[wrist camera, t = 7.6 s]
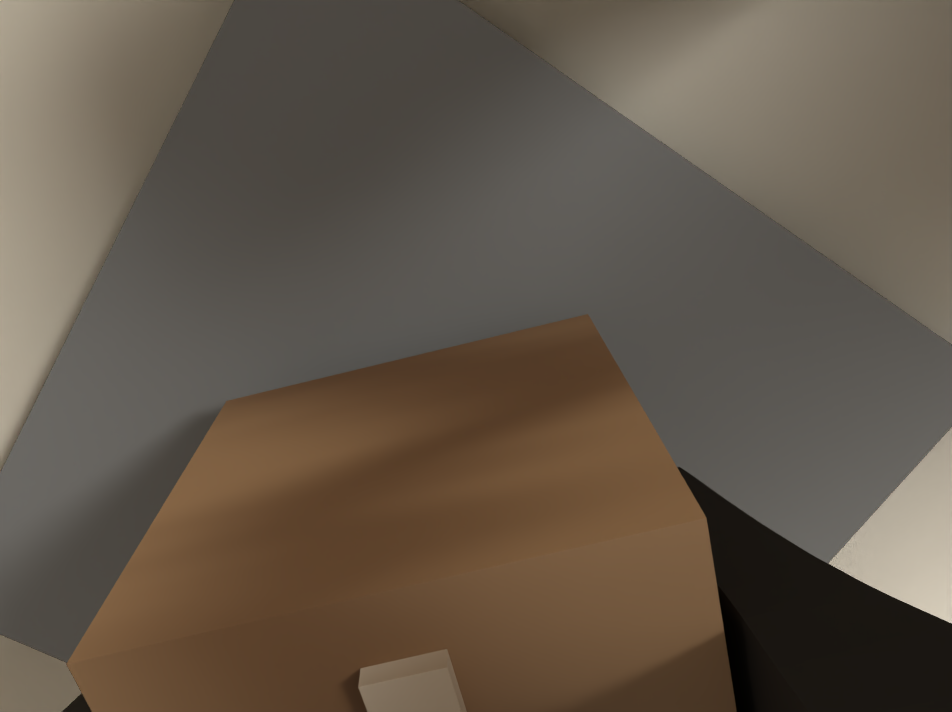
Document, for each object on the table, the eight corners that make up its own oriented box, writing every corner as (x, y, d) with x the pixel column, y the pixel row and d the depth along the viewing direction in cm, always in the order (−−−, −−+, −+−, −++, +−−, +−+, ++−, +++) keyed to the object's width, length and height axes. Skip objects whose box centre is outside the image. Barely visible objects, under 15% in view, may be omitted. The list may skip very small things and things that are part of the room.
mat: (972, 362, 13) (997, 376, 12) (547, 839, 16) (552, 867, 15) (300, -107, 10) (292, -116, 9) (-45, 583, 13) (-66, 606, 13)
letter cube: (588, 313, 11) (715, 532, 6) (646, 612, 12) (782, 974, 8) (226, 401, 11) (54, 682, 6) (334, 682, 13) (270, 1078, 8)
